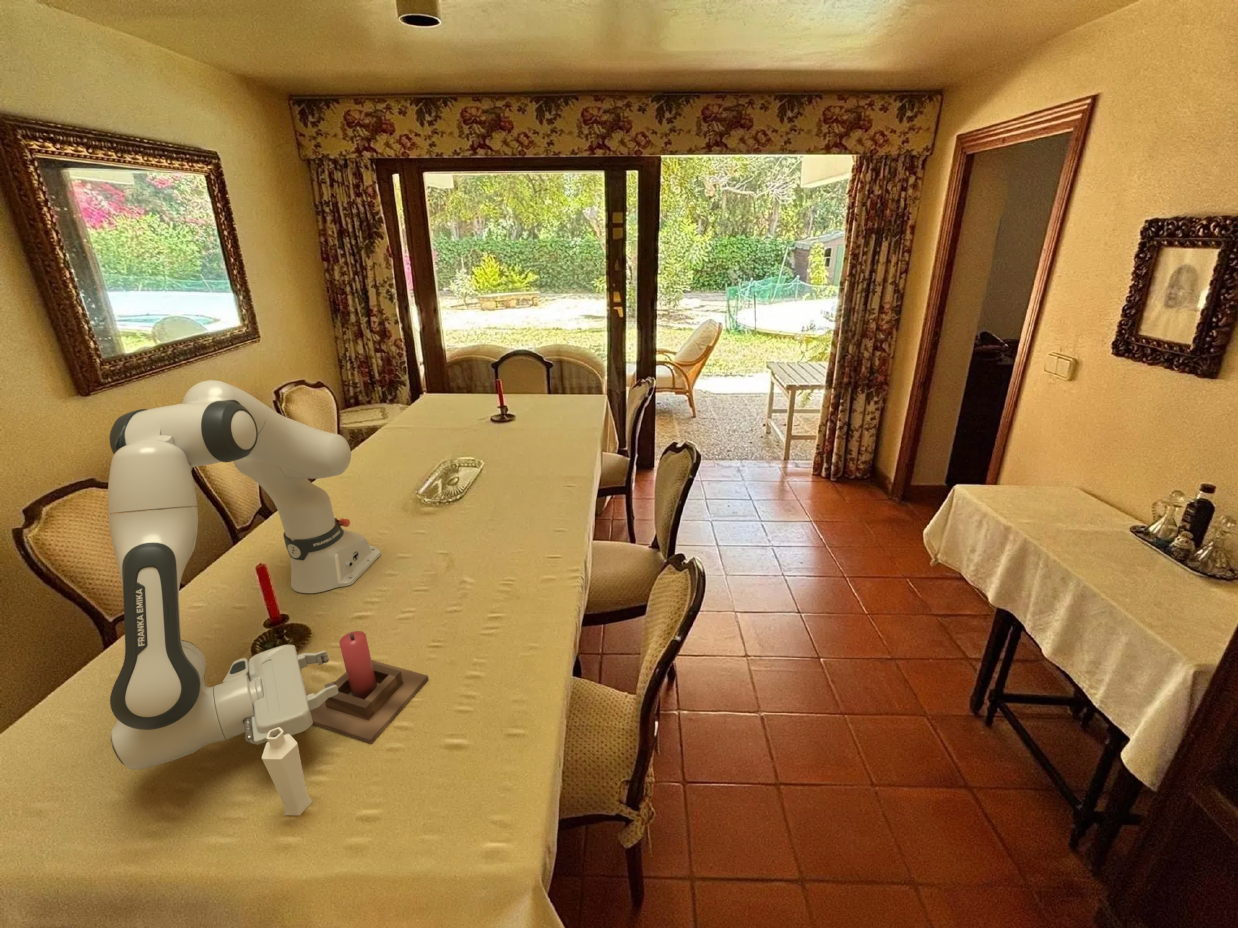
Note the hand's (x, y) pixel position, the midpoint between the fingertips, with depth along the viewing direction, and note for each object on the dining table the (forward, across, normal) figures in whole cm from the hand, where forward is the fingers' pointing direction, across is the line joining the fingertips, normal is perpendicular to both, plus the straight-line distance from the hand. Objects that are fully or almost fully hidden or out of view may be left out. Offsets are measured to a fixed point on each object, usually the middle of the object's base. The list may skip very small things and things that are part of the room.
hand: (332, 670), depth 103 cm
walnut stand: (+4, 0, +9) cm, 10 cm away
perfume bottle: (-10, -16, +9) cm, 21 cm away
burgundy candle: (+4, 0, +8) cm, 9 cm away
